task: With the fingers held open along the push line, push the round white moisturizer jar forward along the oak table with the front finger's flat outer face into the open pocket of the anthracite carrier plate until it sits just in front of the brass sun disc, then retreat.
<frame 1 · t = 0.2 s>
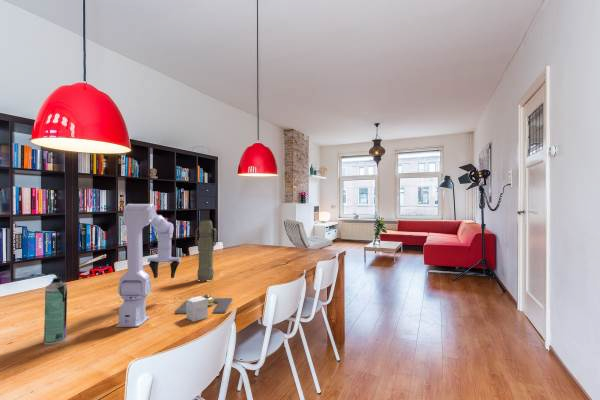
hand: (164, 277, 142), 10 cm above the table, fingers open, 7 cm apart
carrier plate: (205, 306, 133), on the table
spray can: (55, 341, 98), on the table
thermos: (205, 280, 180), on the table
skincare box: (196, 318, 119), on the table
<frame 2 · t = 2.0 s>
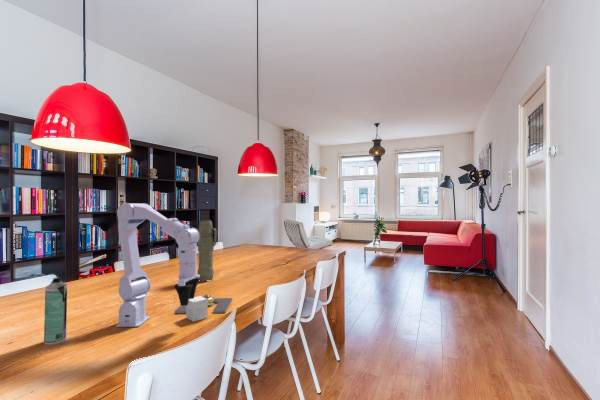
hand: (187, 301, 109), 9 cm above the table, fingers open, 7 cm apart
nothing on the table moved.
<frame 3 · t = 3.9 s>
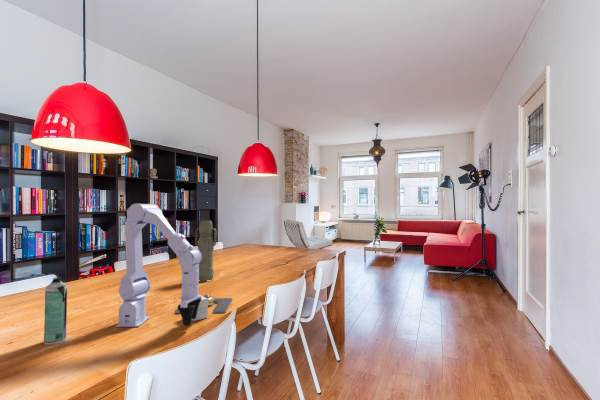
hand: (190, 321, 110), 2 cm above the table, fingers open, 6 cm apart
skincare box: (197, 318, 119), on the table, touching gripper
everything else where it was.
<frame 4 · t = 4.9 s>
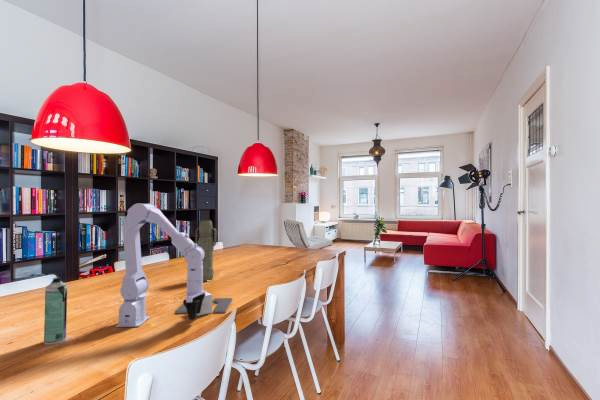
hand: (194, 316, 116), 2 cm above the table, fingers open, 6 cm apart
skincare box: (202, 313, 125), on the table, touching gripper
everything else where it was.
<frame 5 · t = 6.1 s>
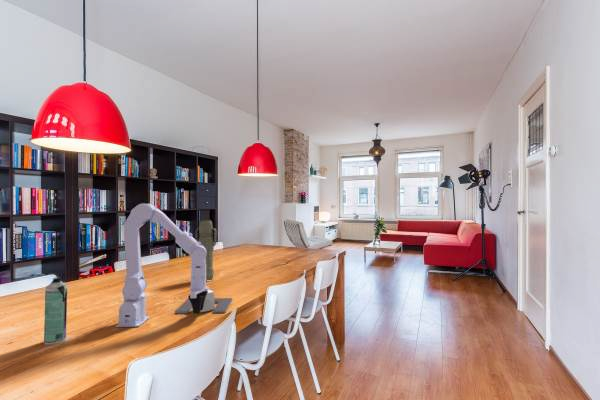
hand: (198, 311, 121), 2 cm above the table, fingers open, 4 cm apart
skincare box: (205, 310, 129), on the table, touching carrier plate, gripper
everything else where it was.
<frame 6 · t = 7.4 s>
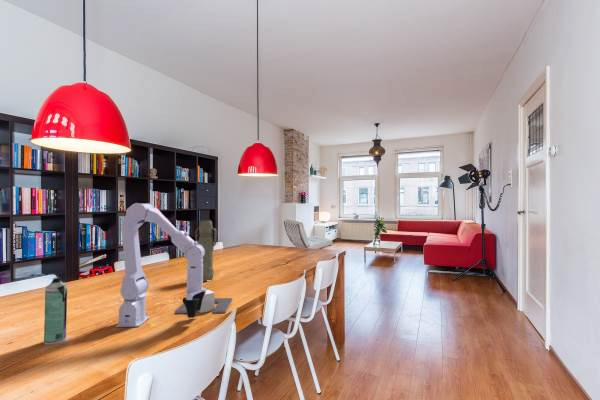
hand: (194, 313, 116), 3 cm above the table, fingers open, 7 cm apart
skincare box: (205, 310, 129), on the table
everything else where it was.
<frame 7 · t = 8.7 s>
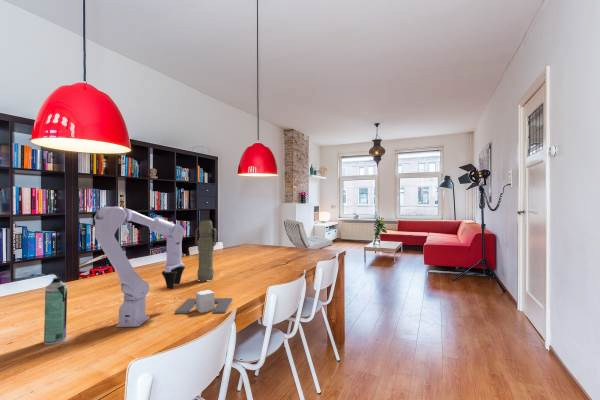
hand: (173, 286, 128), 10 cm above the table, fingers open, 7 cm apart
nothing on the table moved.
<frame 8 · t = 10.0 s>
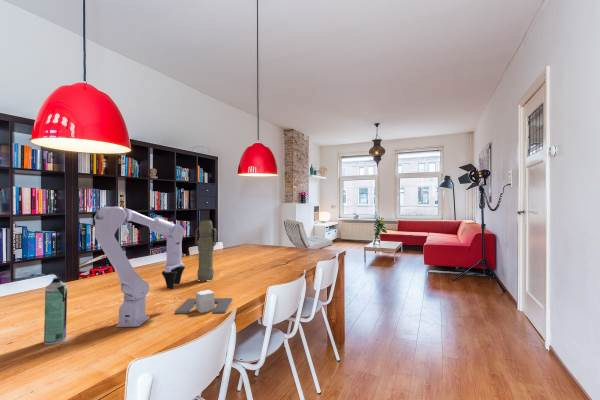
hand: (173, 286, 128), 10 cm above the table, fingers open, 7 cm apart
nothing on the table moved.
at the end: skincare box 0.8 cm from the target spot, on the table; skincare box tilted 0° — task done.
